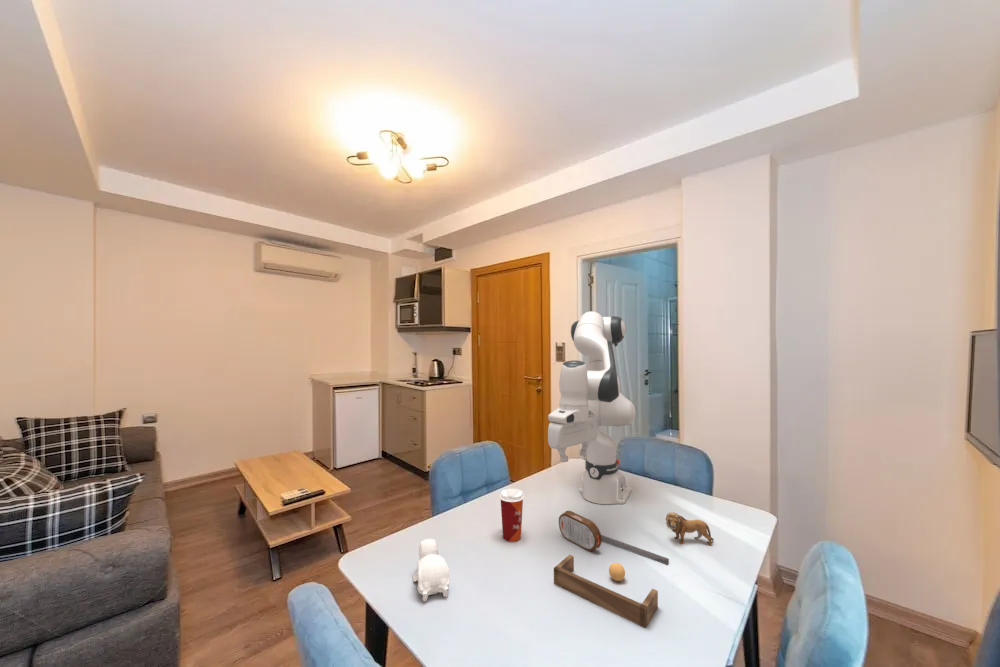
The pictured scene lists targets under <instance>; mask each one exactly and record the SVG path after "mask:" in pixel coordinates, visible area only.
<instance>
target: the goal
mask: <svg viewBox="0 0 1000 667" xmlns="http://www.w3.org/2000/svg"><path fill="white" fill-rule="evenodd" d="M574 562H575V560H574V555H572V554H568V555H567V556H566V557H565V558H564V559H563V560H561V561H560V562H559V563H558V564H557V565H555V566H554V567H553V585H556V586H558V587H559V588H562V589H564V590H566V591H568V592H570V593H572V594H574V595H576V596H578V597H581V598H583V599H584V600H586V601H588V602H590V603H593V604H595V605H597V606H599V607H600V608H603V609H606V610H607V611H610V612H611V613H614V614H616V615H618V616H620V617H622V618H624V619H626V620H628V621H630V622H632V623H634V624H636V625H638V626H640V627H642V628H645V629H646V628H647V626H648V625H649V623H650V622H651V620H652V618H653V616H654V615H655V614H656V612H657V610H658V608H659V599H658V598H659V596H658V595H659V590H657V589H656V588H651V590H650V591H649V592H648V594H647V596H646V597H645V599H644V600H643V601H642V603H641V602H639V601H636V600H634V599H632V598H629V597H627V596H625V595H623V594H621V593H618V592H616V591H614V590H611V589H610V588H607V587H605V586H603V585H601V584H599V583H596V582H594V581H592V580H589V579H588V578H584V577H582V576H580V575H578V574H575V573H573V572H574V570H575V569H574V568H575V566H574Z"/></svg>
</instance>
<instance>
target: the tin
mask: <svg viewBox="0 0 1000 667" xmlns="http://www.w3.org/2000/svg"><path fill="white" fill-rule="evenodd" d="M558 528H559V531H560V533H561V534H562V536H563V537H564V538H565V540H567V541H569V542H571V543H573V544H575V545H577V546H579V547H580V548H582V549H584V550H586V551H588V552H592V551H595V550H596V549H599V548H600V546H601V545H602V542H603V541H602V537H601V535H602V533H601V531H600V529H599V527H598V525H596V523H595V522H593V520H591V519H589V518H587V517H584V516H583V515H581V514H578V513H576V512H574V511H573V510H566V511H565V512H562V514H561V515H559V517H558Z"/></svg>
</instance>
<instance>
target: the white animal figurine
mask: <svg viewBox="0 0 1000 667" xmlns="http://www.w3.org/2000/svg"><path fill="white" fill-rule="evenodd" d="M436 541H437V540H435V539H433V538H425V539H424V540H421V541H420V543H419V545H418V556H419V558H418V559H419V560H418V562H417V569H416V570H417V571H416V572H415V573H414V575H413V577H412V582H413V583H415V582H417V592H418V593H419V594H420V595H422V603H424V602H425V601H426V602H427V600H428V597H429V596H430V595H433V596H434V595H436V594H438V593H442V595H443V598H446V597H447V598H448V595H449V592H448V591H449V587H450V579H451V578H450V568H449V566H448V564H447V562H446V559H445V558H444V557H443V556H441V554H439V548H438V544H437V542H436Z"/></svg>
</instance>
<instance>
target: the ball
mask: <svg viewBox="0 0 1000 667" xmlns="http://www.w3.org/2000/svg"><path fill="white" fill-rule="evenodd" d="M608 573H609V576H610V577H611V579H612V580H614V581H616V582H619V581H623V579H624V578H625V576H626V570H625V567H624V566H623V565H622V564H621V563H619V562H613V563H611V564H610V565H609V568H608Z"/></svg>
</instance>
